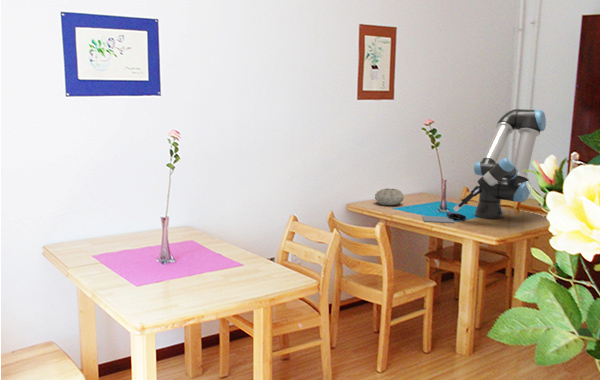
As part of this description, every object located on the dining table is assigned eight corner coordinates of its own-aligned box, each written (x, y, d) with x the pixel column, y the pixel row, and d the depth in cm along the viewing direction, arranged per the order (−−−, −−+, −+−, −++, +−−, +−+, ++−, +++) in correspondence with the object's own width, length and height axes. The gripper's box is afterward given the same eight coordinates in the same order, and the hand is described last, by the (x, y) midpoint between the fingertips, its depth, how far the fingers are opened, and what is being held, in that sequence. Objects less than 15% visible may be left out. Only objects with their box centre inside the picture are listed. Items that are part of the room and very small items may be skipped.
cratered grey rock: (369, 202, 368) (370, 187, 366) (393, 201, 374) (394, 185, 373) (384, 208, 351) (384, 191, 350) (409, 206, 358) (410, 190, 357)
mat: (451, 218, 326) (451, 217, 326) (454, 223, 313) (454, 222, 313) (422, 216, 328) (422, 215, 328) (424, 221, 315) (424, 220, 315)
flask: (466, 220, 320) (460, 217, 331) (466, 215, 320) (461, 212, 331) (449, 217, 320) (444, 215, 331) (450, 212, 320) (445, 210, 331)
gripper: (490, 188, 302) (457, 217, 312) (494, 185, 313) (462, 212, 323) (480, 177, 304) (447, 206, 313) (484, 174, 315) (452, 202, 325)
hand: (454, 209), depth 318 cm, fingers closed
